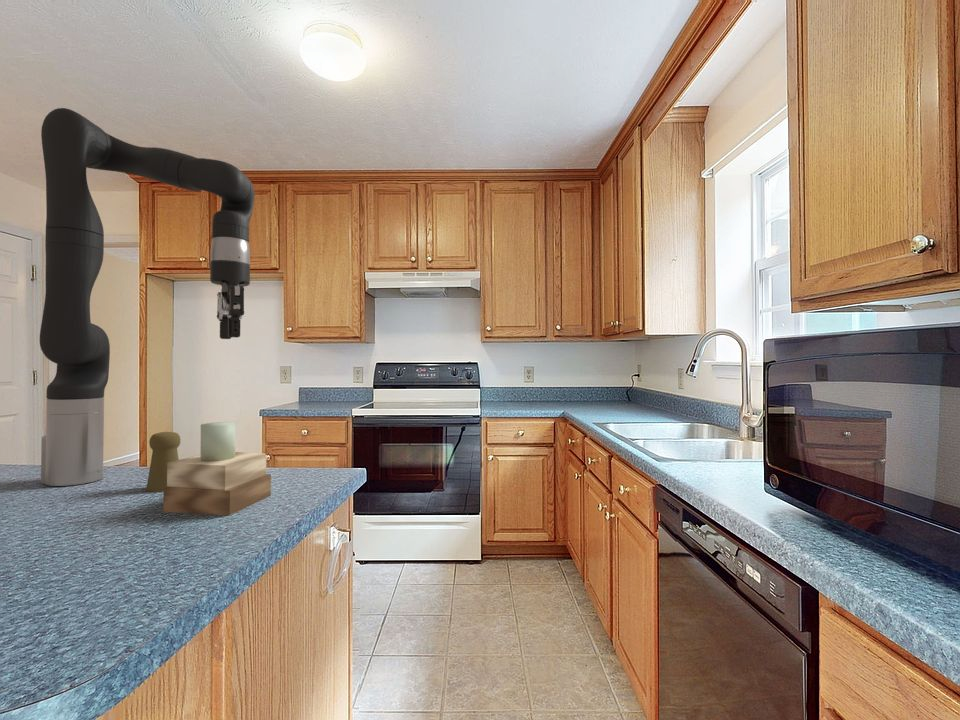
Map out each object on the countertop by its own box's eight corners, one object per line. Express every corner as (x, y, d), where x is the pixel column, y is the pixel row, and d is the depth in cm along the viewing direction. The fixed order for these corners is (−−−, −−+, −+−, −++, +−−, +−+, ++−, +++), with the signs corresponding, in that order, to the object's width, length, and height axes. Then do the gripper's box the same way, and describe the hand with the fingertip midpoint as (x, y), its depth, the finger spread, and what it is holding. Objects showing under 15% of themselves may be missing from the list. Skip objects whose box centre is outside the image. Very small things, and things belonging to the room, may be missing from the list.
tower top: (167, 486, 82) (167, 462, 82) (214, 472, 93) (214, 451, 93) (225, 490, 80) (225, 465, 80) (266, 474, 91) (266, 453, 91)
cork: (149, 485, 97) (150, 431, 98) (184, 483, 100) (185, 429, 100) (143, 493, 92) (143, 435, 92) (180, 490, 94) (180, 433, 95)
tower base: (163, 514, 81) (163, 487, 81) (212, 495, 93) (212, 471, 93) (229, 518, 79) (230, 490, 79) (270, 498, 91) (270, 474, 91)
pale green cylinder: (193, 460, 84) (193, 425, 84) (215, 454, 89) (215, 421, 89) (221, 461, 83) (221, 426, 83) (241, 455, 88) (241, 422, 88)
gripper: (258, 259, 100) (257, 337, 100) (242, 269, 111) (241, 340, 111) (217, 253, 95) (216, 336, 95) (204, 265, 107) (203, 338, 106)
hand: (229, 338), depth 103 cm, fingers open, 8 cm apart
